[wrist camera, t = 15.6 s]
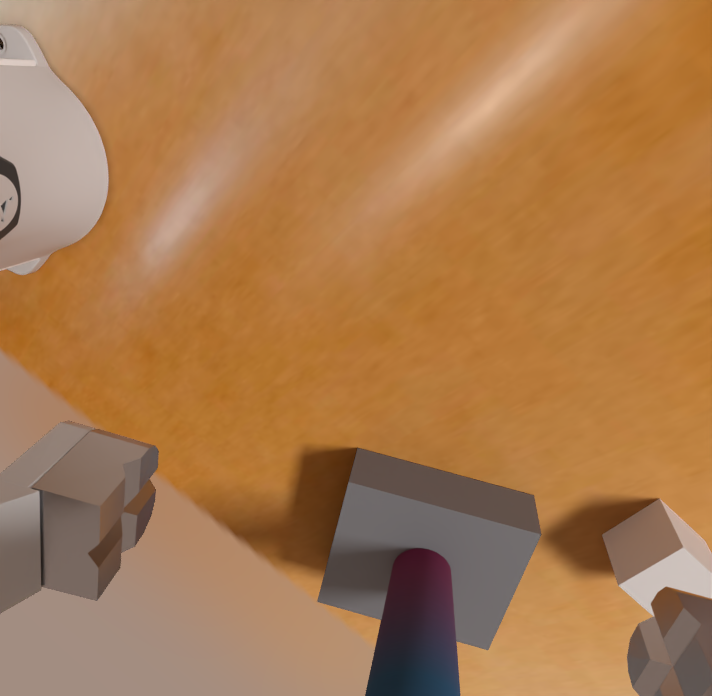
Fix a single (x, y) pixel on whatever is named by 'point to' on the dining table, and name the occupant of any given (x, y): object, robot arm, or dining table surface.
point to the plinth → (430, 540)
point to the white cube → (658, 555)
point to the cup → (417, 630)
